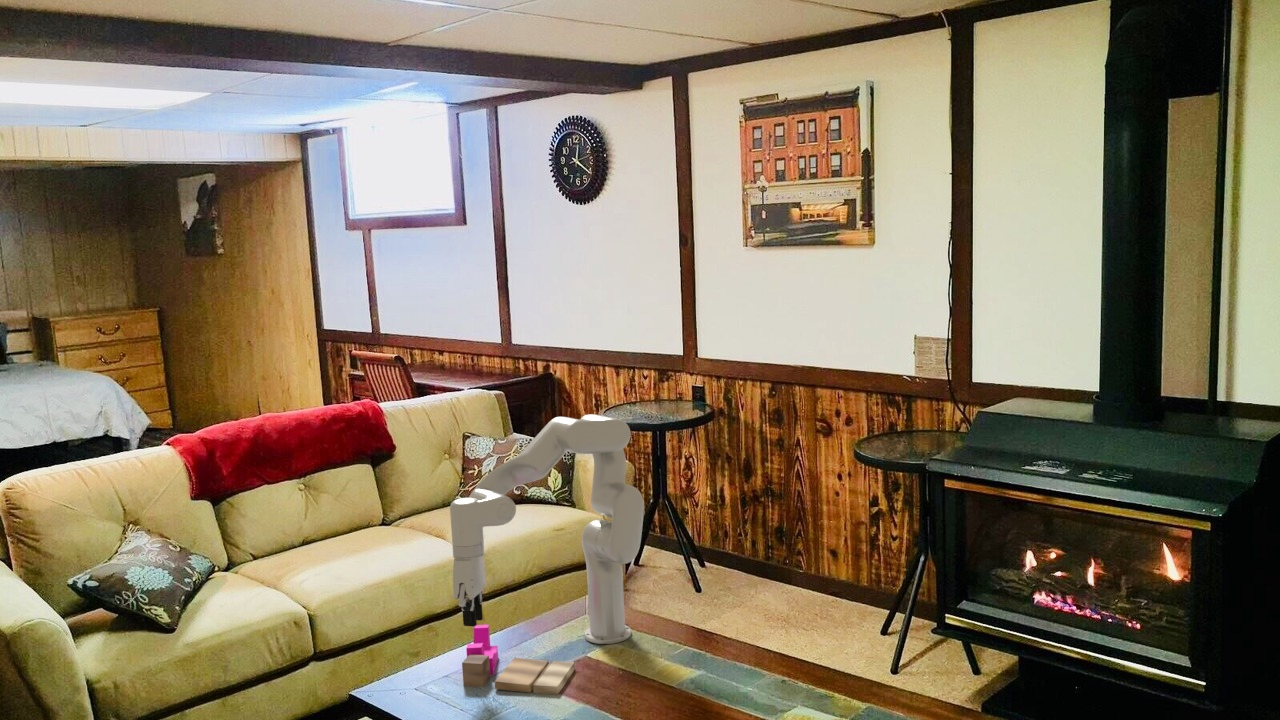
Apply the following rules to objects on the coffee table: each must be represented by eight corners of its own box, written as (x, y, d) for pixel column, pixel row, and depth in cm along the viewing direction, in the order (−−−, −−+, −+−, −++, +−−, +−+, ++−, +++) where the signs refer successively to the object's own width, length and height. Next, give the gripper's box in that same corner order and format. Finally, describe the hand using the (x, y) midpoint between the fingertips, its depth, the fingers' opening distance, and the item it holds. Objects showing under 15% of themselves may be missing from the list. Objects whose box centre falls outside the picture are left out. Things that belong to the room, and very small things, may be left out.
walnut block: (471, 677, 254) (469, 654, 254) (490, 678, 253) (488, 655, 253) (463, 686, 250) (462, 662, 249) (482, 687, 248) (481, 663, 248)
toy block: (493, 675, 255) (491, 646, 254) (468, 676, 255) (466, 648, 254) (500, 651, 270) (498, 624, 269) (476, 652, 270) (474, 625, 269)
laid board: (551, 668, 257) (551, 660, 257) (574, 669, 256) (574, 661, 256) (533, 693, 244) (533, 684, 244) (557, 694, 242) (557, 686, 242)
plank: (514, 664, 260) (514, 657, 259) (548, 668, 258) (548, 660, 257) (494, 688, 246) (494, 680, 246) (530, 692, 244) (530, 684, 244)
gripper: (467, 539, 256) (471, 610, 258) (440, 559, 240) (445, 635, 243) (495, 540, 254) (499, 611, 257) (469, 560, 239) (474, 636, 241)
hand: (473, 622), depth 250 cm, fingers open, 3 cm apart
